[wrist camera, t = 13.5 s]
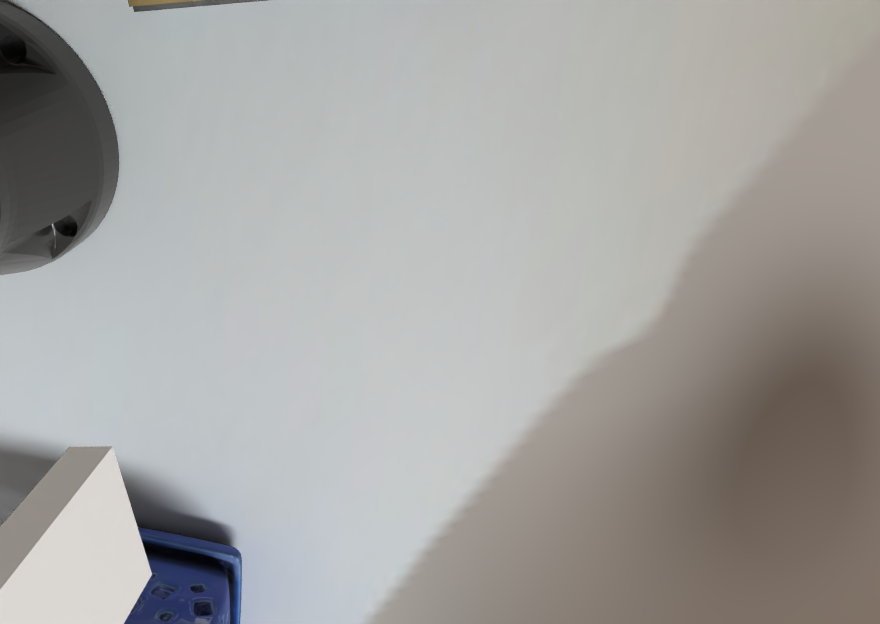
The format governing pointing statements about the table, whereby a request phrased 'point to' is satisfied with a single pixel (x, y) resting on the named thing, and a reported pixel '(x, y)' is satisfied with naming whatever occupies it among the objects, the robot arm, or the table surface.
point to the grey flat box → (177, 3)
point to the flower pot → (188, 581)
